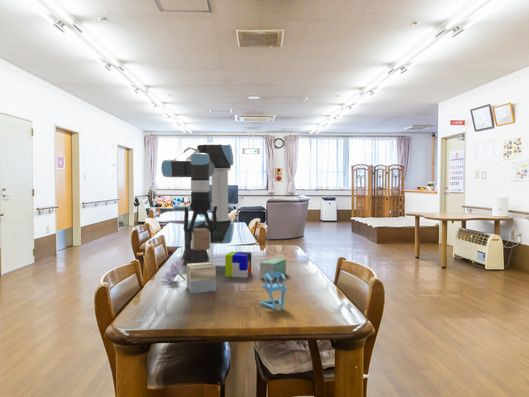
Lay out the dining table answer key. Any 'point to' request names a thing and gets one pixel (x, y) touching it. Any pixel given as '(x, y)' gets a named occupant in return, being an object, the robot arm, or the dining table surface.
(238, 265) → the puzzle toy
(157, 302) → the dining table surface
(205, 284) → the tower slab lower
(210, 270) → the tower slab upper
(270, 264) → the box
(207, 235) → the walnut block
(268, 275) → the chair
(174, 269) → the water lily
